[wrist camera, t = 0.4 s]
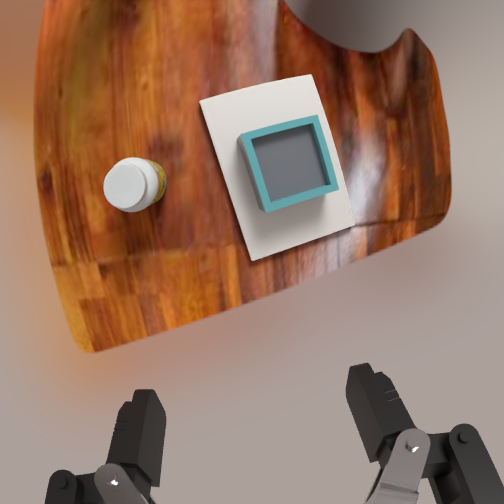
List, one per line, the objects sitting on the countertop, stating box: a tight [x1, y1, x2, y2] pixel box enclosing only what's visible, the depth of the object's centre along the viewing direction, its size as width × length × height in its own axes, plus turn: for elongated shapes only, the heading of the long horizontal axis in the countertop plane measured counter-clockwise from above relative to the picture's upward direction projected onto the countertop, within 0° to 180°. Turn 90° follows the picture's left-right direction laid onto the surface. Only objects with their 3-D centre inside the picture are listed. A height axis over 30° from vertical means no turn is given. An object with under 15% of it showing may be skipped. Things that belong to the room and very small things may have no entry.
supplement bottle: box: [103, 158, 166, 212], centre depth 29 cm, size 5×5×10 cm
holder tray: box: [200, 74, 355, 261], centre depth 33 cm, size 20×14×5 cm
